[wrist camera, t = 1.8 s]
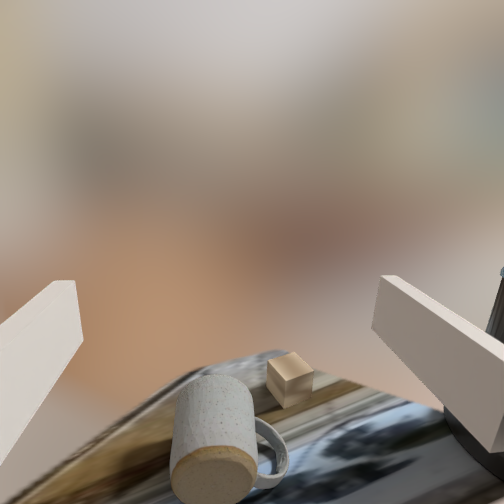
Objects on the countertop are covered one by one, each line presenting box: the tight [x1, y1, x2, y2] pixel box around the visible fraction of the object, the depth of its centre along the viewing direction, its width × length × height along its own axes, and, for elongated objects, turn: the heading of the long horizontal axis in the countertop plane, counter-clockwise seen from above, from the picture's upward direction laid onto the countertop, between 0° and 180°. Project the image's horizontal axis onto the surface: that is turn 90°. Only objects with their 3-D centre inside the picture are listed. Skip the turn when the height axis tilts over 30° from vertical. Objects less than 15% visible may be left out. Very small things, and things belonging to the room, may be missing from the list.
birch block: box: [266, 352, 314, 409], centre depth 38 cm, size 4×4×4 cm
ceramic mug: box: [170, 374, 289, 504], centre depth 28 cm, size 11×8×8 cm
